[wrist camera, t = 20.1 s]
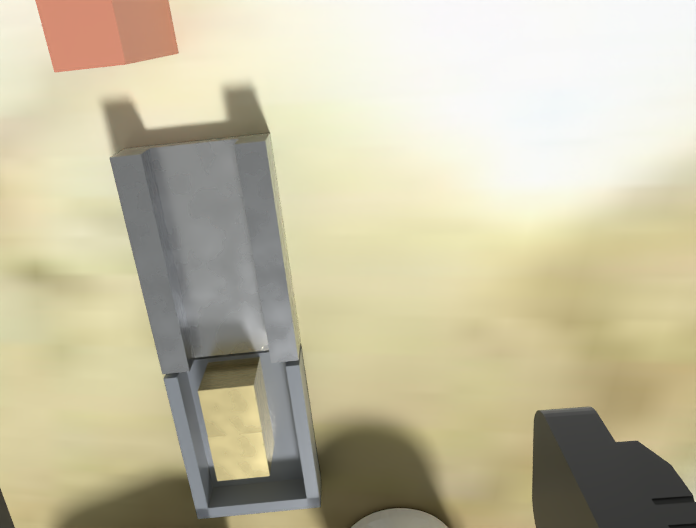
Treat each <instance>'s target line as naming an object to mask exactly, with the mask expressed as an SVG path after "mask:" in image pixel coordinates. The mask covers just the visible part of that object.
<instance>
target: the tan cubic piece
mask: <svg viewBox="0 0 696 528" xmlns="http://www.w3.org/2000/svg"><path fill="white" fill-rule="evenodd" d="M198 395H199V399H200V404H201V408H202V413H203V417H204V422H205V426H206V431H207V435H208V437H218V436H229V435H239V434H249V433H259V432H262V430H263V425H264V419H265V413H266V407H267V395H266V389H265V384H264V378H263V372H262V367H261V361H260V357H256V358H246V359H236V360H226V361H216V362H208V364H207V367H206V370H205V372H204V375H203V378H202V381H201V383H200V386H199V389H198Z"/></svg>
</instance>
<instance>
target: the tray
mask: <svg viewBox="0 0 696 528" xmlns="http://www.w3.org/2000/svg"><path fill="white" fill-rule="evenodd" d="M256 357H260V361H261V367H262V372H263V378H264V384H265V389H266V395H267V403H268V409H269V414H270V420H271V426H272V431H273V437H274V450H273V457H272V464H271V471H270V476H266V477H255V478H245V479H235V480H225V481H217V477H216V473H215V468H214V464H213V459H212V455H211V451H210V446H209V442H208V435H207V431H206V426H205V422H204V417H203V413H202V408H201V404H200V399H199V395H198V389H199V386H200V383H201V381H202V378H203V375H204V372H205V370H206V367H207V364H208V362H216V361H226V360H236V359H246V358H256ZM164 382H165V386H166V391H167V395H168V399H169V403H170V407H171V411H172V415H173V419H174V423H175V427H176V431H177V436H178V440H179V444H180V448H181V452H182V456H183V460H184V464H185V468H186V472H187V476H188V481H189V485H190V489H191V493H192V497H193V501H194V505H195V509H196V513H197V517H198V519H204V518H214V517H224V516H235V515H245V514H255V513H265V512H276V511H286V510H296V509H306V508H317V507H321V475H320V469H319V462H318V455H317V448H316V442H315V435H314V428H313V421H312V414H311V408H310V401H309V394H308V387H307V381H306V374H305V367H304V360H303V354H302V347H301V345H300V351H299V360H297V361H288V362H278V363H271V359H270V353H269V350H266V351H256V352H246V353H236V354H226V355H217V356H207V357H197V358H195V360H194V362H193V364H192V367H191V369H190V371H189V372H179V373H169V374H166V375H165V377H164Z"/></svg>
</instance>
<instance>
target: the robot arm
mask: <svg viewBox="0 0 696 528" xmlns="http://www.w3.org/2000/svg"><path fill="white" fill-rule="evenodd" d="M532 502H533V512H534V519H535V524H536V528H696V502H695V501H694V499H693V495H692V493H691V492H690V490H689V489H688V488H687V486H686V485H685V484H684V482H683V481H682V479H681V478H680V477H679V475H678V474H677V472H676V471H675V470H674V468H673V467H672V466H671V465H670V464H669V463H668V462H666V461H665V460H663V459H662V458H661V457H659V456H658V455H656V454H655V453H654V452H652V451H651V450H650V449H648V448H647V447H645V446H644V445H643V444H641V443H640V442H638V441H627V442H615V440H614V439H613V437H612V436H611V434H610V432H609V431H608V429H607V428H606V426H605V425H604V423H603V421H602V420H601V418H600V417H599V415H598V413H597V412H596V411H595V410H594V409H593V408H592V407H578V408H565V409H551V410H538V411H537V412H536V414H535V417H534V435H533V483H532ZM0 528H15V527H14V524H13V522H12V519H11V516H10V514H9V511H8V508H7V505H6V503H5V500H4V497H3V495H2V492H1V489H0Z"/></svg>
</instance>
